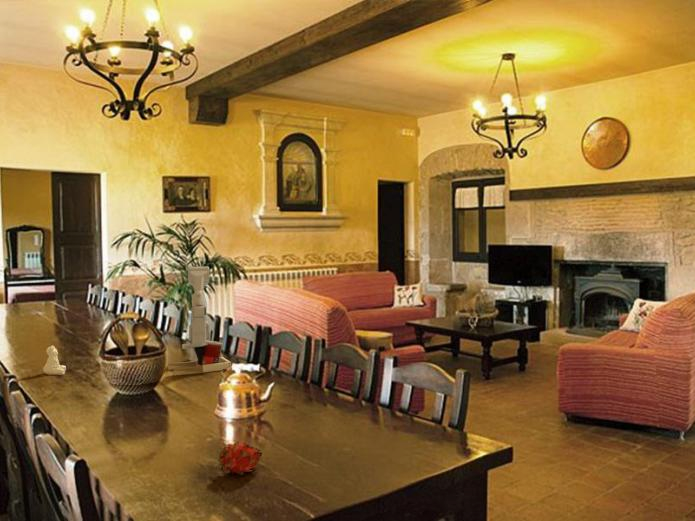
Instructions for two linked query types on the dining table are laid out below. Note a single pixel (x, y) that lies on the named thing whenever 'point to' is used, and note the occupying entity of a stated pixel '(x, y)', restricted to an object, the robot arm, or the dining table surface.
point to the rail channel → (185, 368)
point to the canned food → (211, 353)
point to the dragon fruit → (239, 458)
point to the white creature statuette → (53, 363)
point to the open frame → (215, 365)
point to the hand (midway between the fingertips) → (199, 364)
